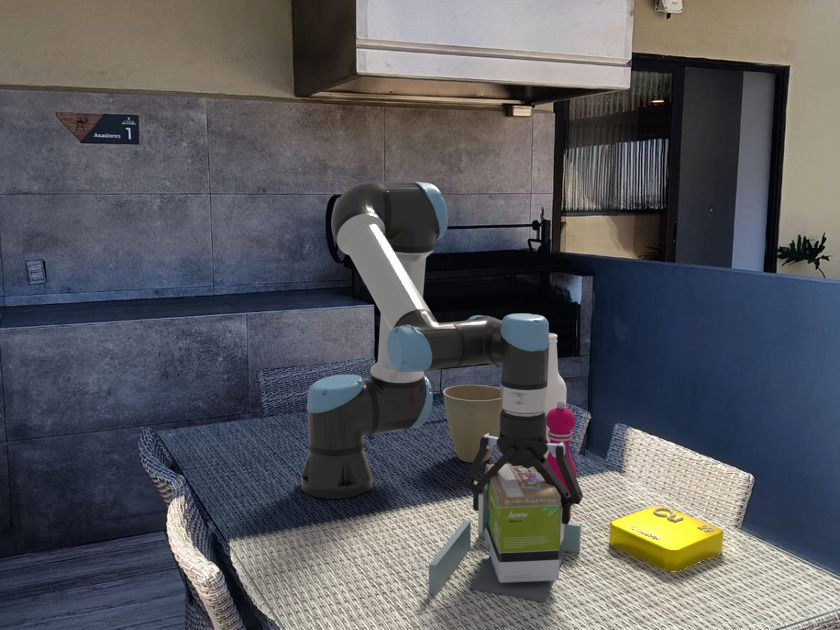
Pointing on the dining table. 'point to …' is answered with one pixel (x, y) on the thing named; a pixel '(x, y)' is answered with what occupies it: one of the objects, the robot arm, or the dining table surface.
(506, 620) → the dining table surface
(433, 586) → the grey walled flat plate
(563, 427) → the pepper mill
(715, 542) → the element tile
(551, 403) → the alcohol
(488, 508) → the tea box
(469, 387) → the plant pot
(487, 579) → the mat
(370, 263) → the robot arm
